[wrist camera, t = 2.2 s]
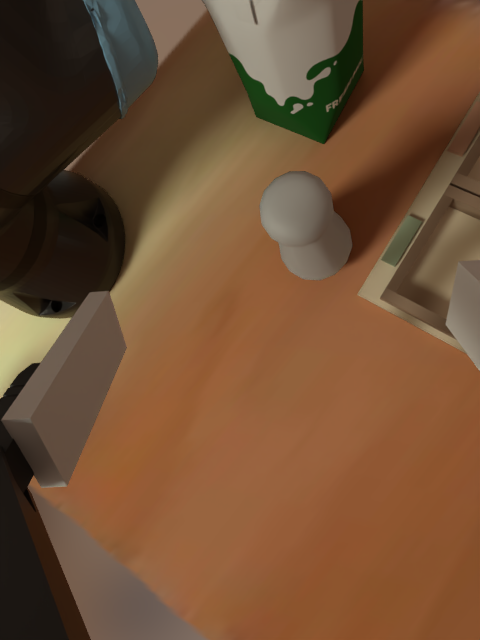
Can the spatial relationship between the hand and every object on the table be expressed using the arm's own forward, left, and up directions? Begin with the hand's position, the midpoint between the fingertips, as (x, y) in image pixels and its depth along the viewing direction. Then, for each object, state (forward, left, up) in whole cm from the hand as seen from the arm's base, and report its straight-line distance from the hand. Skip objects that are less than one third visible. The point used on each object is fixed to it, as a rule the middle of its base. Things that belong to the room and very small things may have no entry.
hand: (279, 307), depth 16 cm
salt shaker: (-4, +5, -20) cm, 21 cm away
